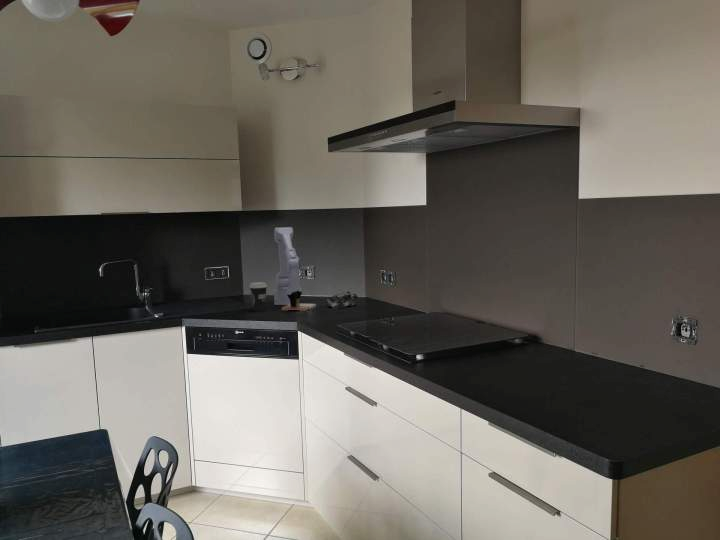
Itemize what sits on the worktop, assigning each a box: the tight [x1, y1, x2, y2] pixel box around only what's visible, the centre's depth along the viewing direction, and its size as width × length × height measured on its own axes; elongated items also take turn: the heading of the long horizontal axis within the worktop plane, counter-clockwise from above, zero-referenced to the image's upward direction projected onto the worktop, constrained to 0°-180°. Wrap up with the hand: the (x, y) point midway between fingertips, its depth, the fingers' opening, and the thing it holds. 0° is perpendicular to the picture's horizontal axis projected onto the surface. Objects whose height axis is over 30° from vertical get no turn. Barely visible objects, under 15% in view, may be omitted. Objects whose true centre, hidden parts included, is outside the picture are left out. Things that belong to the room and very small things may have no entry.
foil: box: [326, 290, 359, 309], centre depth 313 cm, size 12×11×15 cm
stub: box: [281, 299, 309, 312], centre depth 306 cm, size 14×5×6 cm, turn 72°
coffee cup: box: [248, 281, 268, 313], centre depth 307 cm, size 10×10×15 cm
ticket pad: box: [286, 303, 317, 310], centre depth 314 cm, size 14×9×2 cm, turn 72°
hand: (295, 305), depth 306 cm, fingers closed on stub, 3 cm apart
